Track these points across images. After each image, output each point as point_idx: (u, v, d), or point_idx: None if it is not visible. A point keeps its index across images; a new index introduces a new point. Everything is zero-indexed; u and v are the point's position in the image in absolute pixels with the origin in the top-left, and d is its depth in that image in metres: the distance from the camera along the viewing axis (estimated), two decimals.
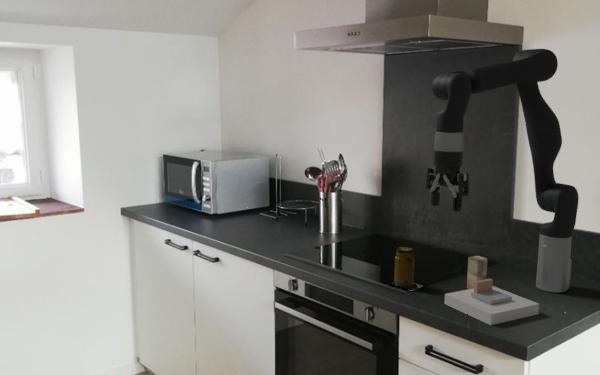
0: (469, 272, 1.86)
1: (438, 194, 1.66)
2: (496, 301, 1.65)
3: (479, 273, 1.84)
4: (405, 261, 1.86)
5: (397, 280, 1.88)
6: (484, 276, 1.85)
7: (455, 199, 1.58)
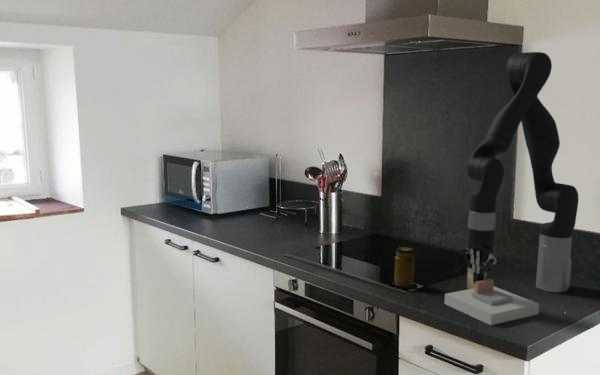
0: (469, 272, 1.86)
1: None
2: (497, 301, 1.65)
3: None
4: (405, 261, 1.86)
5: (397, 280, 1.88)
6: (484, 276, 1.85)
7: (478, 275, 1.72)
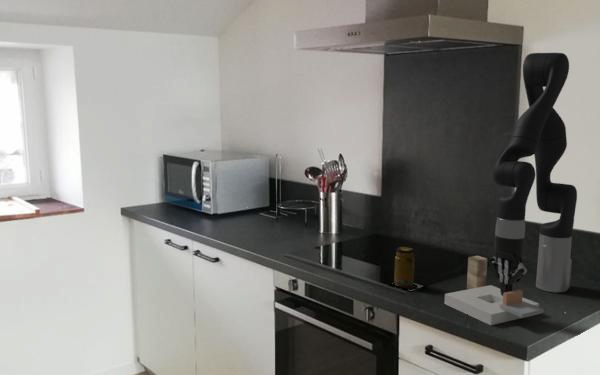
0: (469, 272, 1.86)
1: None
2: (527, 314, 1.55)
3: (479, 273, 1.84)
4: (405, 261, 1.86)
5: (397, 280, 1.88)
6: (484, 276, 1.85)
7: (506, 285, 1.63)
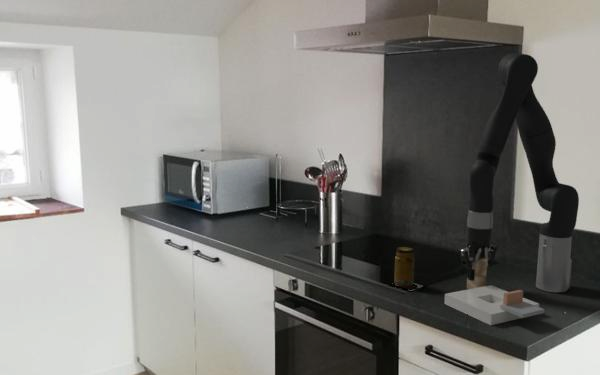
0: None
1: None
2: (528, 314, 1.55)
3: (479, 273, 1.84)
4: (405, 261, 1.86)
5: (397, 280, 1.88)
6: (484, 276, 1.85)
7: None
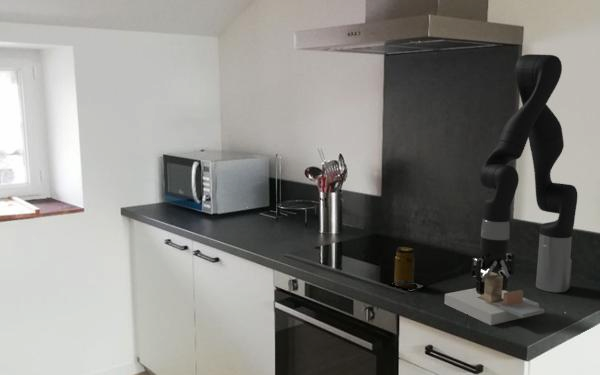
0: None
1: (503, 279, 1.70)
2: (528, 314, 1.55)
3: (494, 292, 1.67)
4: (405, 261, 1.86)
5: (397, 280, 1.88)
6: (499, 295, 1.68)
7: None
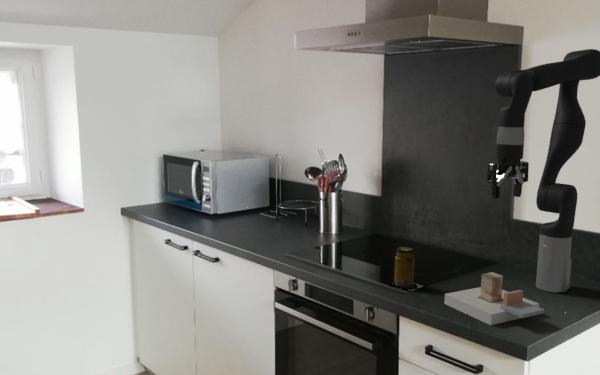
0: (483, 291, 1.69)
1: (518, 186, 1.77)
2: (528, 314, 1.55)
3: (494, 292, 1.67)
4: (405, 261, 1.86)
5: (397, 280, 1.88)
6: (499, 295, 1.68)
7: None
